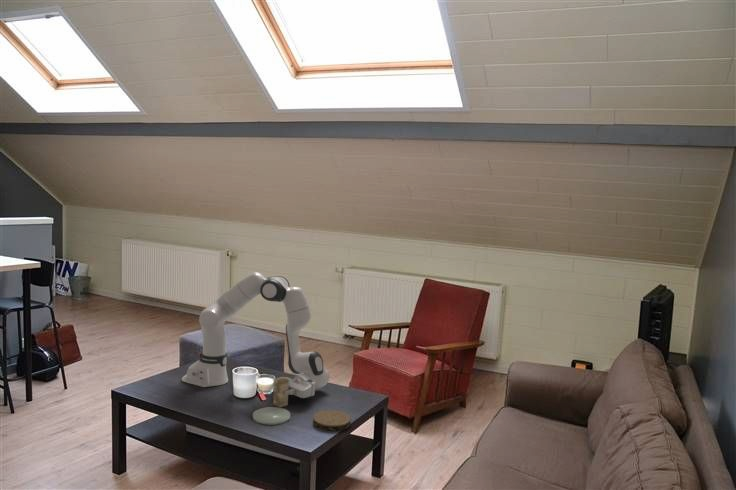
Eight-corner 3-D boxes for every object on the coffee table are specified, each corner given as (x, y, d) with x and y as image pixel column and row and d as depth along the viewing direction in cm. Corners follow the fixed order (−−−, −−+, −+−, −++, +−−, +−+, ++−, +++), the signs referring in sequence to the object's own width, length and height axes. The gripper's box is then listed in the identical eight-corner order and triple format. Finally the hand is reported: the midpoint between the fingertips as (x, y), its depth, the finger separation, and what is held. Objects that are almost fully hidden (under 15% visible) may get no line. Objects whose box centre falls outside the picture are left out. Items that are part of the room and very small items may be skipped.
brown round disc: (345, 434, 244) (346, 427, 244) (308, 429, 247) (308, 422, 246) (353, 419, 260) (354, 412, 259) (318, 414, 262) (318, 408, 262)
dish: (246, 421, 250) (246, 418, 250) (262, 407, 266) (262, 404, 266) (281, 427, 246) (281, 424, 246) (295, 413, 262) (296, 410, 262)
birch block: (273, 404, 270) (274, 379, 268) (280, 401, 273) (281, 376, 272) (280, 407, 267) (281, 381, 265) (287, 404, 270) (288, 379, 269)
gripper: (286, 371, 285) (264, 378, 275) (317, 383, 273) (295, 390, 262) (286, 384, 286) (264, 391, 275) (316, 396, 273) (294, 404, 263)
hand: (279, 391), depth 269 cm, fingers closed on birch block, 5 cm apart
